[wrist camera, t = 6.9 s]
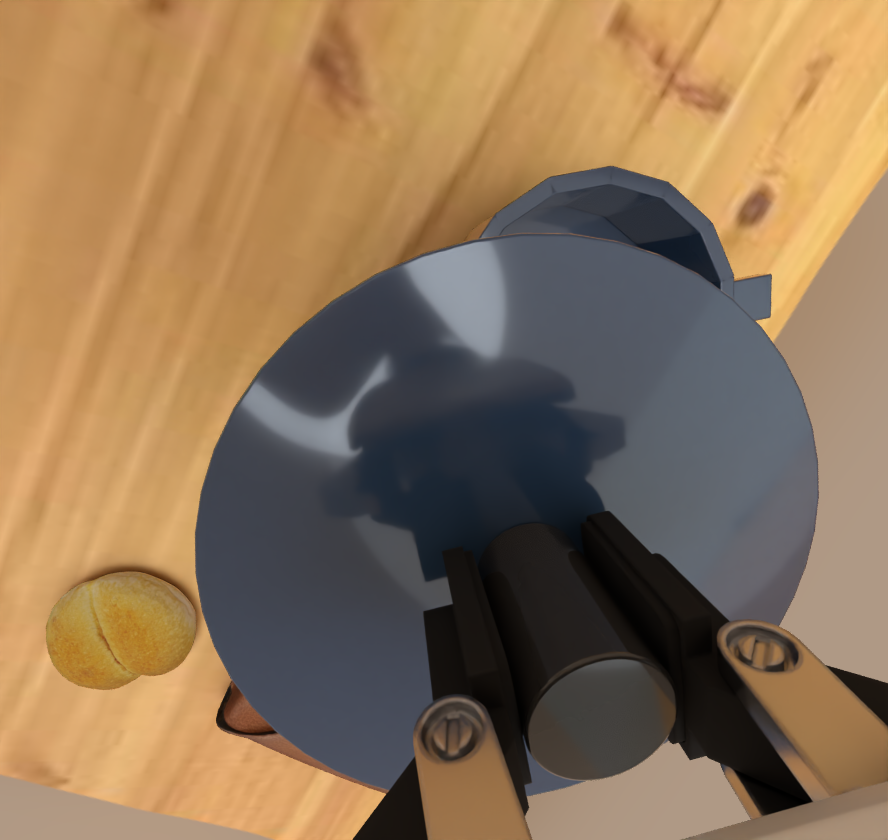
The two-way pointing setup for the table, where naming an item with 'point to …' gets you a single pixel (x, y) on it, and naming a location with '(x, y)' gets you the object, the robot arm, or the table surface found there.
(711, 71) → the table surface
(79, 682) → the bread roll
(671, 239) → the pan
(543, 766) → the lid
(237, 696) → the sunglasses case
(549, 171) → the table surface
